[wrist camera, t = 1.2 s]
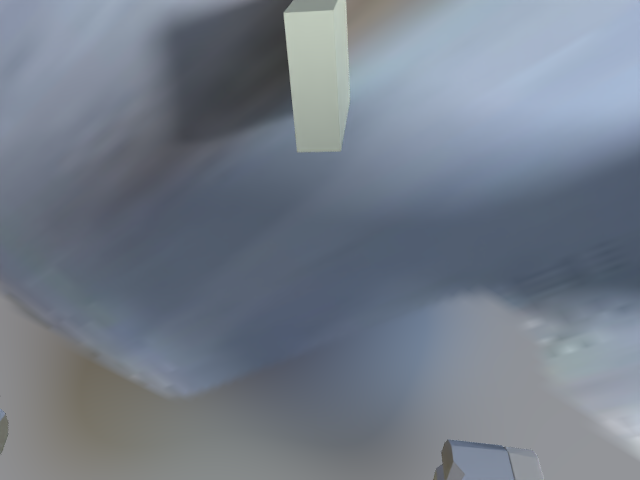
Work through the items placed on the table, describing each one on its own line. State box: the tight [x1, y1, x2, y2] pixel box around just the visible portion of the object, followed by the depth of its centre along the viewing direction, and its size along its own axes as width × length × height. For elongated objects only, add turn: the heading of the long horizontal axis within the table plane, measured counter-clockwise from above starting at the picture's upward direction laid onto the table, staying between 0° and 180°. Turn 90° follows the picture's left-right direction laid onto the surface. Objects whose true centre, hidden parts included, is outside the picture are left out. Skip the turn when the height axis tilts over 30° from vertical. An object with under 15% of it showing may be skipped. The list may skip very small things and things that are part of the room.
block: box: [284, 0, 350, 152], centre depth 27 cm, size 2×6×7 cm, turn 4°
